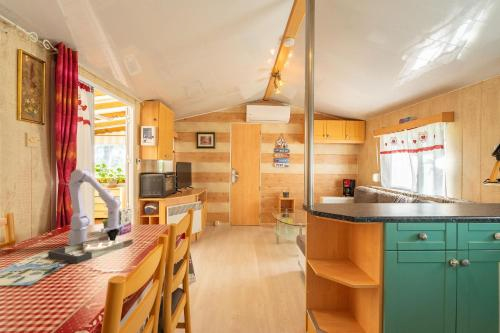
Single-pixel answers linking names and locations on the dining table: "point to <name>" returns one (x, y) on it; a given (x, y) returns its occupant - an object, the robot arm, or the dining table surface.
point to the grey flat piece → (100, 251)
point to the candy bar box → (124, 221)
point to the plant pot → (105, 223)
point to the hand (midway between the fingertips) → (112, 242)
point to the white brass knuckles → (97, 245)
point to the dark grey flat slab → (68, 256)
